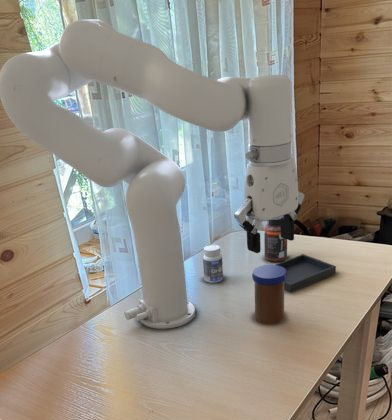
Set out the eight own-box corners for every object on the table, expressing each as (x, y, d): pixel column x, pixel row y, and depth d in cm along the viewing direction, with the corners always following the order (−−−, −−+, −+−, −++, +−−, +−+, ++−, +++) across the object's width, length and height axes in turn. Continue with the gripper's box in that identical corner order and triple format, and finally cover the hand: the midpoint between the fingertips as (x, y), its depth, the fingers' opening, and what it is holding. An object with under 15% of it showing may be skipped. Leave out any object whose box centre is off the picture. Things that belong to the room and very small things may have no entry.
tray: (290, 292, 120) (290, 284, 119) (258, 278, 128) (258, 270, 127) (335, 273, 127) (336, 266, 126) (302, 261, 135) (302, 253, 134)
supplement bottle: (288, 261, 135) (289, 219, 129) (265, 263, 135) (265, 221, 129) (285, 253, 140) (286, 212, 134) (263, 254, 140) (263, 213, 134)
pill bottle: (213, 285, 126) (211, 252, 122) (200, 279, 129) (198, 248, 125) (227, 278, 129) (225, 246, 124) (214, 273, 132) (212, 242, 127)
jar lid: (268, 288, 102) (268, 281, 101) (245, 278, 107) (245, 271, 106) (293, 278, 105) (293, 271, 104) (270, 268, 110) (270, 261, 109)
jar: (268, 327, 107) (268, 282, 102) (249, 316, 111) (248, 273, 106) (290, 317, 110) (291, 273, 104) (270, 307, 114) (270, 265, 109)
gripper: (246, 165, 86) (249, 262, 95) (319, 146, 94) (316, 237, 103) (219, 160, 91) (224, 252, 101) (290, 141, 99) (289, 229, 108)
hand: (270, 244), depth 102 cm, fingers open, 8 cm apart
